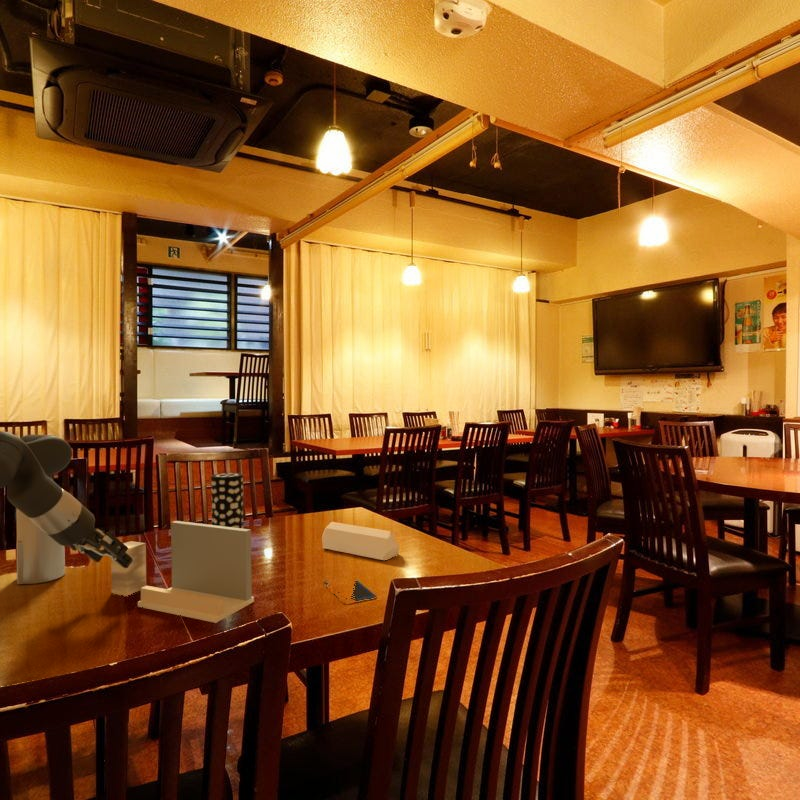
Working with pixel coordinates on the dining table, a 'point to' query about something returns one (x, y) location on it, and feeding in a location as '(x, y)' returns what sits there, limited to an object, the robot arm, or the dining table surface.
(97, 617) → the dining table surface
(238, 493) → the spotted tube
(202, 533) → the cleat board
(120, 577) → the birch block
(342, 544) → the white beveled bar
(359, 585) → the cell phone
